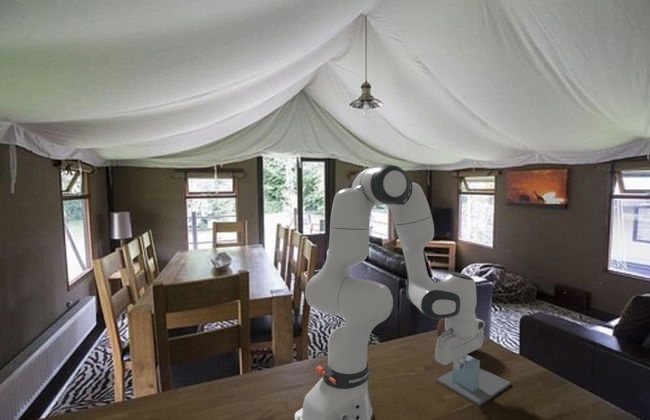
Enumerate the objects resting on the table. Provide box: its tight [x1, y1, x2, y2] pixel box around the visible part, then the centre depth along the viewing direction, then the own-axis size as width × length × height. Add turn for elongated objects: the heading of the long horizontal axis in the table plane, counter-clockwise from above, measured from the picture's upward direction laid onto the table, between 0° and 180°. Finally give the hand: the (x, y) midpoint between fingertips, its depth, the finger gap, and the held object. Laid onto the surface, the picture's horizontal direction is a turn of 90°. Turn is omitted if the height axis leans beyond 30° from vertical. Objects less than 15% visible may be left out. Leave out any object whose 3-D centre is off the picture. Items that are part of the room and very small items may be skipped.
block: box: [452, 354, 481, 392], centre depth 106 cm, size 4×7×9 cm, turn 34°
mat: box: [435, 367, 512, 407], centre depth 108 cm, size 18×15×1 cm
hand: (459, 368), depth 103 cm, fingers closed
